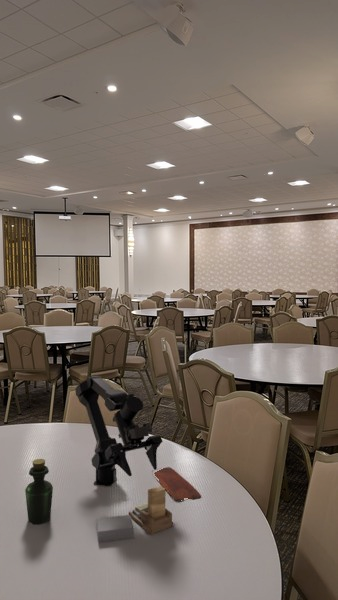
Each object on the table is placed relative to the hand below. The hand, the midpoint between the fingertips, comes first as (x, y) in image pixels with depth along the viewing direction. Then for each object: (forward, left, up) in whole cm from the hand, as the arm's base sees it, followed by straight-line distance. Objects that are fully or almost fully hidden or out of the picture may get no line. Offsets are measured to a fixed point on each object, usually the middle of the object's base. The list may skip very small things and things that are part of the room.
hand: (143, 472), depth 140 cm
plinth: (-4, -12, -13) cm, 19 cm away
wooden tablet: (+4, +23, -14) cm, 27 cm away
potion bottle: (-29, -12, -13) cm, 34 cm away
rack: (+4, -3, -13) cm, 14 cm away
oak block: (+6, -5, -10) cm, 13 cm away
